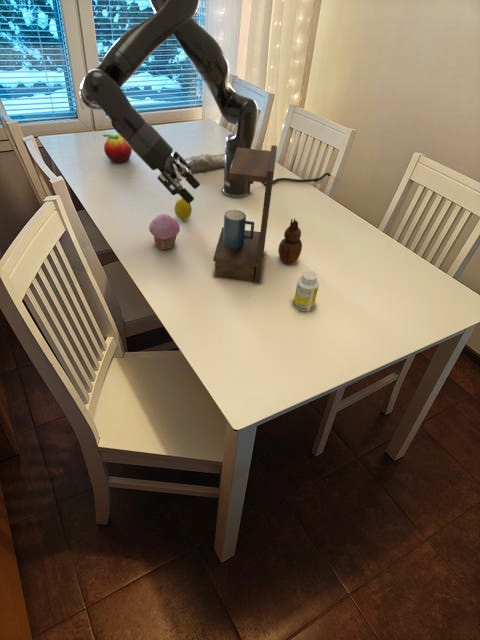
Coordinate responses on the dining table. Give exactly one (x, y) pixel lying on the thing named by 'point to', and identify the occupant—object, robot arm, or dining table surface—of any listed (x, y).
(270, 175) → the shelf
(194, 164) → the elongated rock
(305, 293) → the supplement bottle
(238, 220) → the mug
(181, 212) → the lemon
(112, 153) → the fruit
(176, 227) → the cupcake
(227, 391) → the dining table surface
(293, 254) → the wooden figurine
